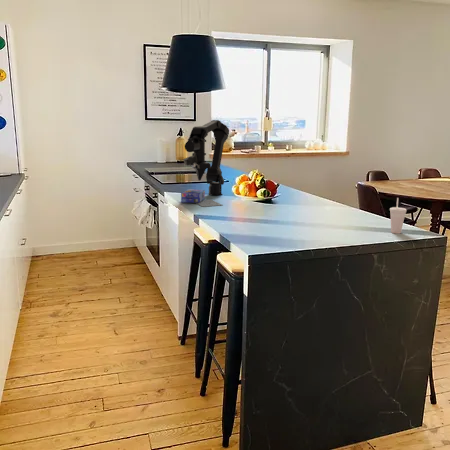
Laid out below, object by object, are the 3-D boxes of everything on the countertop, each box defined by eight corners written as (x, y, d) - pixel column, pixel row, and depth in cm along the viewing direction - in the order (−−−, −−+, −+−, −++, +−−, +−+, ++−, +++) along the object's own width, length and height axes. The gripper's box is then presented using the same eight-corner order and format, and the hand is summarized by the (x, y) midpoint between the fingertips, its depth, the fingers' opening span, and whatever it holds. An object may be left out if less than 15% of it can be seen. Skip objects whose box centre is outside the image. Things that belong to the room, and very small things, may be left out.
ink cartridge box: (204, 189, 254) (197, 193, 240) (205, 199, 255) (198, 204, 241) (187, 188, 256) (179, 193, 242) (187, 198, 257) (179, 204, 243)
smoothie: (384, 230, 192) (388, 196, 189) (400, 230, 193) (403, 196, 189) (391, 234, 186) (394, 199, 183) (407, 234, 186) (410, 199, 183)
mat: (211, 200, 254) (211, 199, 254) (222, 205, 240) (222, 205, 240) (192, 201, 250) (192, 200, 250) (202, 206, 236) (202, 206, 236)
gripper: (179, 149, 255) (179, 178, 259) (190, 152, 238) (190, 183, 242) (199, 149, 259) (199, 177, 263) (211, 152, 243) (210, 182, 246)
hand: (199, 180), depth 253 cm, fingers closed
